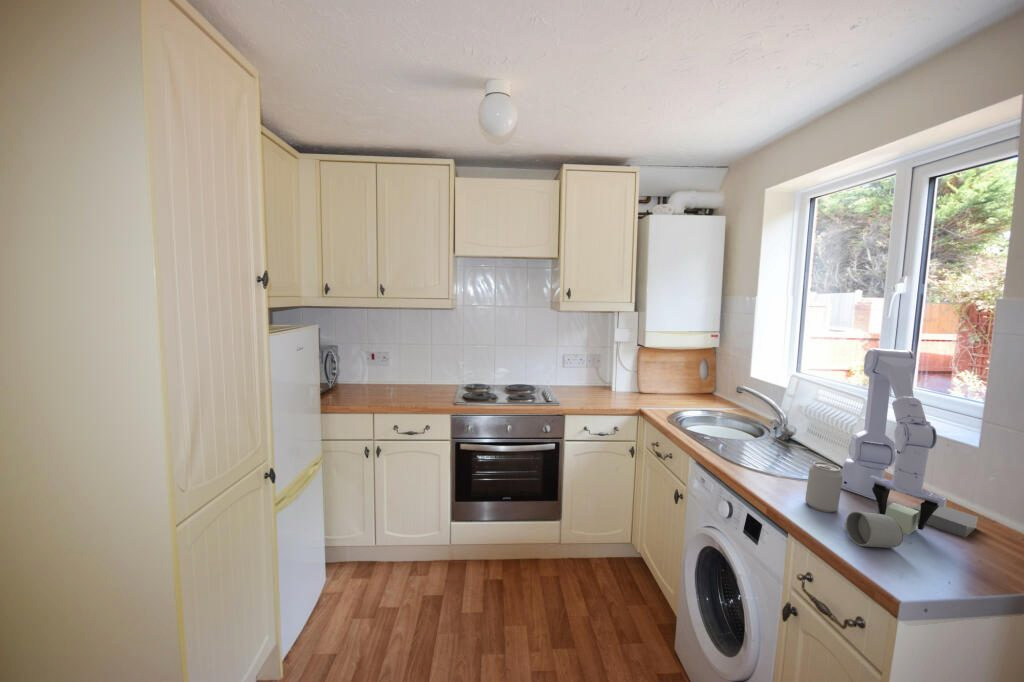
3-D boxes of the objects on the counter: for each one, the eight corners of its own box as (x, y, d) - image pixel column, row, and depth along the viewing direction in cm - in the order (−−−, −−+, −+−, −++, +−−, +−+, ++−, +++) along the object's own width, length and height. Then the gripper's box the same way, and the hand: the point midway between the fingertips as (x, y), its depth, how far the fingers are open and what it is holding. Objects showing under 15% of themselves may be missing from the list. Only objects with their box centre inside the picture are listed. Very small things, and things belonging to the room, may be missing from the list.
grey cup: (904, 554, 98) (908, 522, 97) (868, 553, 98) (873, 520, 97) (865, 530, 109) (869, 500, 108) (833, 528, 109) (837, 499, 108)
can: (798, 502, 122) (804, 461, 120) (815, 499, 125) (821, 458, 123) (826, 515, 115) (833, 472, 113) (844, 511, 118) (850, 469, 116)
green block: (883, 525, 112) (886, 506, 111) (891, 520, 114) (894, 502, 114) (909, 534, 107) (912, 515, 107) (916, 529, 110) (919, 511, 110)
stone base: (912, 518, 116) (914, 508, 115) (924, 510, 121) (926, 500, 121) (964, 537, 107) (967, 526, 107) (975, 528, 113) (977, 517, 112)
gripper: (867, 462, 113) (860, 511, 115) (943, 484, 101) (934, 539, 102) (878, 458, 117) (870, 506, 118) (952, 479, 105) (943, 532, 106)
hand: (900, 521), depth 111 cm, fingers open, 7 cm apart
